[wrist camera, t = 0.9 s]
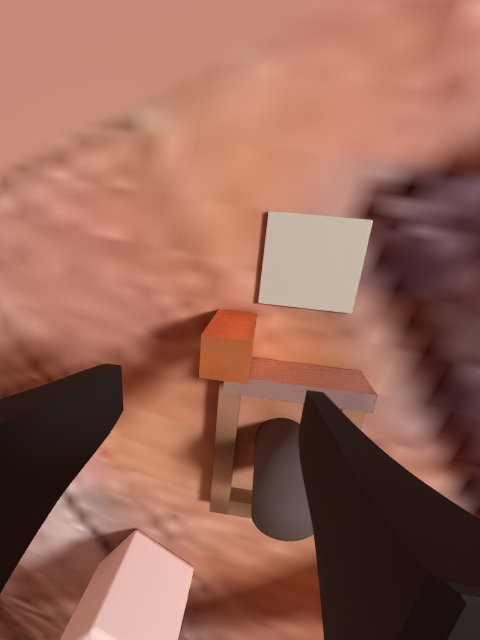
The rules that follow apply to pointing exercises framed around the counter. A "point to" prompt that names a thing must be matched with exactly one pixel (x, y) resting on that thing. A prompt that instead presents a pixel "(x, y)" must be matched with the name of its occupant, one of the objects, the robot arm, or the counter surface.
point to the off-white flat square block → (313, 261)
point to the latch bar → (273, 368)
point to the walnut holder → (224, 451)
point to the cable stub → (279, 483)
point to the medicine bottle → (134, 594)
